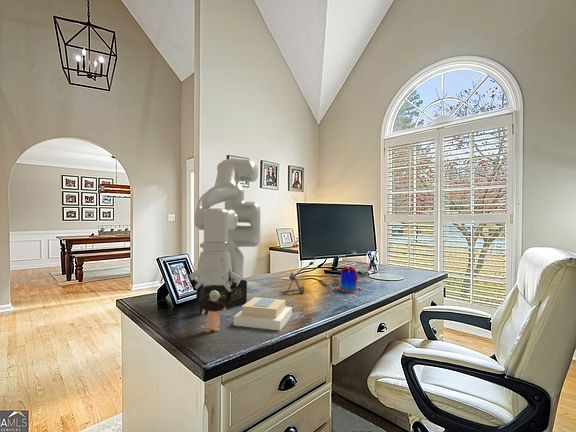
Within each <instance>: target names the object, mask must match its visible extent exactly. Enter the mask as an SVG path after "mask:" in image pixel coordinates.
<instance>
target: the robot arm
mask: <svg viewBox="0 0 576 432" xmlns="http://www.w3.org/2000/svg"><path fill="white" fill-rule="evenodd" d="M216 170H217V173H216V178H215V181H214V182H215V184H214V185H213V186H212V187H211V188H209V189H208V190H207V191H206V192H204V193H202V195H201V196H200V197H199V199H198V202H197V204H196V209H195V213H194V218H193V219H194V220H193V221H194V226H195V228H197V229H198V230H200V231H203V241H202V243H200V244H199V247H200V248H202V250H203V251H200V253H199V257H198V263H197V269H196V270H195V271H194V272H191V273H189V278H190V280H191V283H192V285H194V288H195V289H196V297H195V298H196V302H197V303H199V302H200V301H202V300H204V287H203V286H208V285H224V286H225V288H226V289H227V291H226V300H225V304H226V305H228V304H230V303H231V302H232V300H233V290H234V289H235V288H236V287H237V286H238V284H239V282H240V280H244V276H245V275H244V274H245V273H244V272H245V271H244V270H245V268H244V267H245V266H244V265H245V257H244V254H243V252H242V251H241V249H240V248H255V247H258V246H259V244H260V243H261V207H260V204H259V203H257V202H255V201H246V200H245V191H244V188H243V186H242V185H241V183H242V182H244V183H247V182H248V183H254V182H255V181H257V179H258V176H259V167H258V165H257V163H256V162H255V161H253V160H251V159H242V158H241V159H239V158H238V159H237V158H236V159H231V158H228V159H223V160H222V161H220V162H219V163H217V168H216ZM240 182H241V183H240ZM221 203H224V208H216V207H215V208H214V206H215V205H217V204H221ZM211 207H213V208H211ZM239 223H240V224H243V223H244V224H245V223H246V224H249V225H239ZM231 281H234V283H233V284H232V283H231Z"/></svg>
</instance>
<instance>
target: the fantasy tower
mask: <svg viewBox="0 0 576 432" xmlns="http://www.w3.org/2000/svg"><path fill="white" fill-rule="evenodd" d="M340 276H341V277H340V279H341V280H340V287H339V288H338V287H336V288H334V289H333V290H334V291H340V292H344V293H349V294H356V293H357V292H361V290H363V288H361V287H358V288H357V284H358V283H357V282H358V272H357V270H356V269H355V268H354V267H353V266H351V265H350V266H349V267H348V266H344V267H343V268H342V269H341V270H340ZM363 291H364V290H363Z"/></svg>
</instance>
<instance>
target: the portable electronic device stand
mask: <svg viewBox="0 0 576 432" xmlns="http://www.w3.org/2000/svg"><path fill="white" fill-rule="evenodd" d="M289 280H290V284H289V286H288V288H287V291H286V292H287V293H289V291H290V289H291V286H292V284H293V282H295V284H296V287H297V289H298V291H299V294H301V295H303V294H304V293H305V291H304V285H303V284H302V286H300V284H299V281H298V279H297V278H296V274H295V273H294V272H290V274H289Z"/></svg>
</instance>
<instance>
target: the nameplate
mask: <svg viewBox="0 0 576 432" xmlns="http://www.w3.org/2000/svg"><path fill="white" fill-rule="evenodd" d="M231 283H232V284H233V283H234V281H231ZM203 287H204V300H202V301H200V302H198V303H199V305H198V308H199V309H198V311H199V314H201V313H202V311H203V308H204V307H205V305H206V304H207V303H208V302H210V301H211V299H210V296H209V295H210V292H211V291H213V290H216V291H218V292H219V294H220V297H219V298H218V300H217V301H219V302H221V303H223V304H224V305H225V308H226V310H228V309H232V308H235V307H240V306H243V305H244V304H246V303H247V302H248V301H247V300H248V299H247V297H248V295H247V294H248V291H247V290H248V281H247V280H245V279H243V280H240V282H239V284H238V286H237V287H236V288H235V289H234V290H233V300H232V302H231V303H230V304H228V305H226V304H225V300H226V291H227V289H226V288H225V286H224V285H203ZM208 311H209V309H208V310H206V312H205V314H204V315H208ZM221 311H223V310H222V309H220V308H219V312H221ZM201 315H202V314H201Z"/></svg>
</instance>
